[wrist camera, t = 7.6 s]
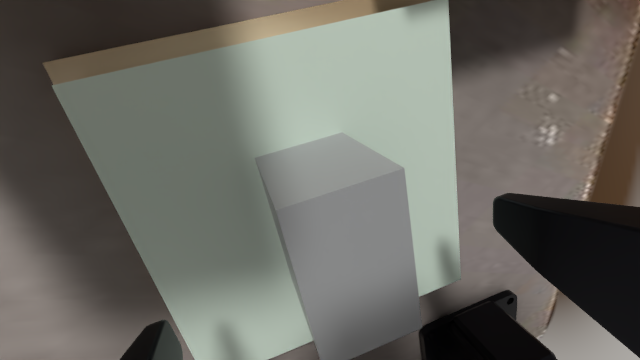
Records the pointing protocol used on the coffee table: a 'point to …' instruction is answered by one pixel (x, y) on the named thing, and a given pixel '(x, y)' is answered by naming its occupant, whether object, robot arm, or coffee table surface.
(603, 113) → the coffee table surface
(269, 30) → the cork mat
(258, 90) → the lid
